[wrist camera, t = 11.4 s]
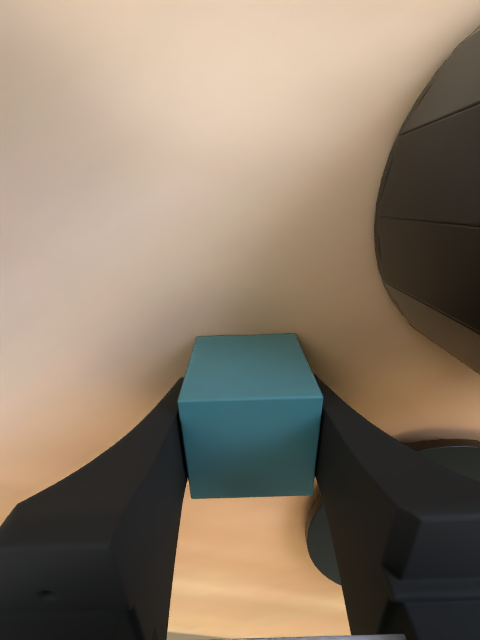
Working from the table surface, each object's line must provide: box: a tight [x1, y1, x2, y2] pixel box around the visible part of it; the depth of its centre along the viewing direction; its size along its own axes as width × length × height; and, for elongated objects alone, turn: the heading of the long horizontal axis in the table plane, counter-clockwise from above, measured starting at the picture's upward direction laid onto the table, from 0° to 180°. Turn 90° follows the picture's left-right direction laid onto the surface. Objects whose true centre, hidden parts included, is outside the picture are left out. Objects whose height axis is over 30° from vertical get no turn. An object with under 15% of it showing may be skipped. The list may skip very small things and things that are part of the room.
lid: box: [305, 439, 480, 586], centre depth 15 cm, size 14×14×5 cm
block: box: [177, 334, 323, 499], centre depth 11 cm, size 4×4×4 cm
